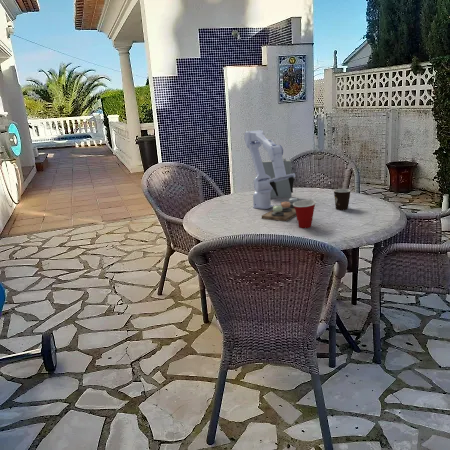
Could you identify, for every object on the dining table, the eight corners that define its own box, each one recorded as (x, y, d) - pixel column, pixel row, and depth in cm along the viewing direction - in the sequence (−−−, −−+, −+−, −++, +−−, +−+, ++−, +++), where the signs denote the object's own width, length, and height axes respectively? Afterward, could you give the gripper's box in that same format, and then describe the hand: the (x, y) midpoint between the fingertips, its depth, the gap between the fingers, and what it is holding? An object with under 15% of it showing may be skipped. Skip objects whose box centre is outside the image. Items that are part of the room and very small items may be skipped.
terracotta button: (279, 207, 225) (279, 203, 224) (283, 204, 228) (283, 201, 228) (287, 207, 222) (287, 204, 221) (291, 205, 226) (291, 202, 225)
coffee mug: (350, 210, 223) (351, 192, 220) (333, 210, 225) (334, 192, 222) (349, 205, 234) (349, 187, 231) (333, 205, 236) (333, 187, 233)
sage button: (271, 211, 218) (271, 207, 217) (275, 208, 221) (275, 205, 221) (279, 212, 215) (279, 208, 214) (283, 209, 219) (283, 206, 218)
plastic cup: (290, 224, 206) (290, 200, 203) (312, 222, 207) (312, 198, 204) (295, 231, 196) (295, 205, 193) (318, 229, 197) (318, 204, 193)
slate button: (287, 203, 232) (287, 199, 231) (291, 201, 235) (291, 197, 235) (295, 203, 229) (295, 200, 228) (299, 201, 233) (298, 198, 232)
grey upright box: (291, 195, 264) (290, 155, 257) (291, 197, 260) (290, 156, 253) (263, 196, 267) (262, 156, 260) (263, 198, 263) (261, 157, 256)
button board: (261, 218, 220) (261, 213, 219) (285, 206, 241) (285, 201, 240) (285, 221, 212) (285, 216, 211) (308, 208, 233) (308, 204, 232)
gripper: (264, 170, 216) (269, 196, 215) (291, 163, 212) (297, 190, 211) (266, 172, 223) (272, 197, 222) (293, 165, 219) (299, 191, 218)
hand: (284, 194), depth 217 cm, fingers open, 7 cm apart
